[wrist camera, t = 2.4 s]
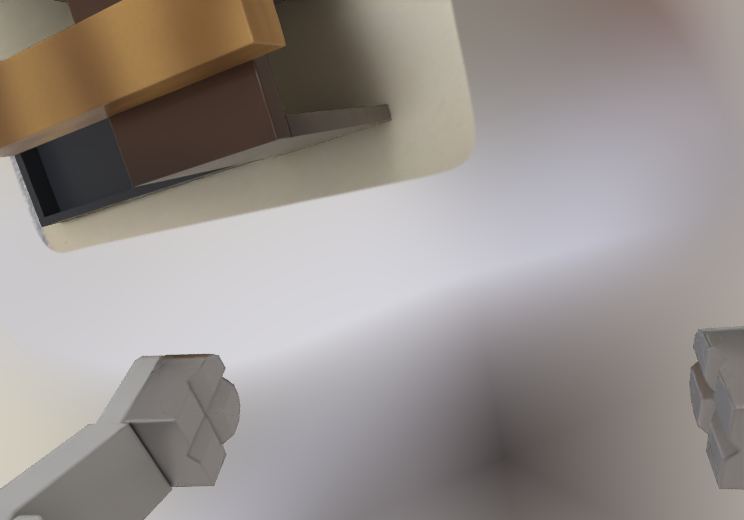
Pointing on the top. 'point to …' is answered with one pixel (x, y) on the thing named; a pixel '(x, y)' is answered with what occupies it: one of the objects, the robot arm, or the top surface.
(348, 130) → the shelf
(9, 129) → the block
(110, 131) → the tray
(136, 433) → the robot arm
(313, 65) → the top surface
